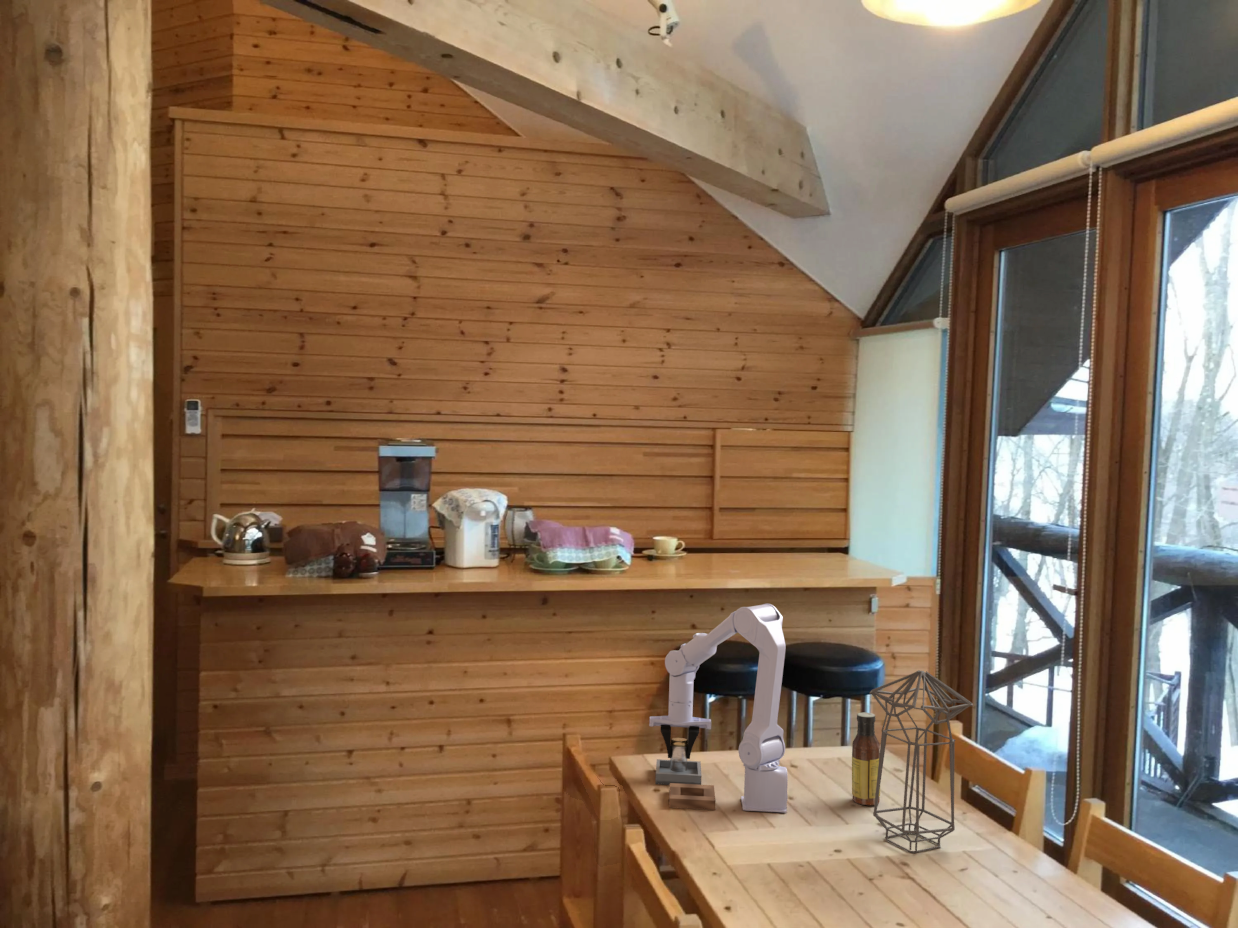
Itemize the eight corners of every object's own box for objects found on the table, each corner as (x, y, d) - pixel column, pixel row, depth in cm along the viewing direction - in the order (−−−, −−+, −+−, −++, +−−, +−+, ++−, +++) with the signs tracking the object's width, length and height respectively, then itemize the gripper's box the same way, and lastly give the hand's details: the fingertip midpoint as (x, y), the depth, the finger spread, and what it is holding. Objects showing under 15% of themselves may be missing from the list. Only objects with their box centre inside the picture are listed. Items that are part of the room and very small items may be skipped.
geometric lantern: (857, 834, 209) (865, 664, 209) (917, 826, 215) (925, 661, 216) (909, 862, 195) (918, 680, 195) (971, 853, 201) (980, 677, 201)
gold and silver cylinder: (686, 767, 242) (687, 737, 242) (686, 772, 238) (687, 742, 238) (670, 766, 242) (671, 737, 242) (669, 771, 238) (670, 742, 238)
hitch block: (713, 793, 230) (713, 785, 230) (715, 809, 220) (715, 800, 220) (669, 791, 230) (669, 782, 230) (669, 807, 220) (669, 798, 220)
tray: (700, 771, 245) (700, 761, 245) (701, 786, 235) (701, 775, 235) (656, 769, 246) (656, 759, 246) (655, 783, 235) (655, 773, 235)
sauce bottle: (877, 797, 231) (881, 711, 230) (882, 807, 225) (885, 718, 224) (848, 796, 231) (851, 709, 231) (852, 805, 225) (855, 716, 225)
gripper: (711, 697, 244) (709, 753, 244) (650, 694, 244) (648, 750, 245) (712, 704, 236) (710, 762, 237) (649, 701, 237) (648, 759, 238)
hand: (678, 757), depth 240 cm, fingers closed on gold and silver cylinder, 4 cm apart
